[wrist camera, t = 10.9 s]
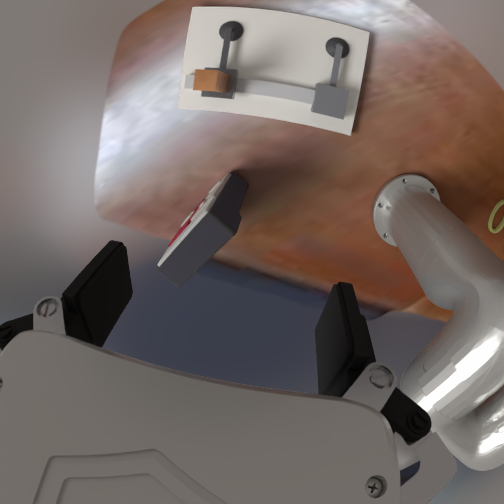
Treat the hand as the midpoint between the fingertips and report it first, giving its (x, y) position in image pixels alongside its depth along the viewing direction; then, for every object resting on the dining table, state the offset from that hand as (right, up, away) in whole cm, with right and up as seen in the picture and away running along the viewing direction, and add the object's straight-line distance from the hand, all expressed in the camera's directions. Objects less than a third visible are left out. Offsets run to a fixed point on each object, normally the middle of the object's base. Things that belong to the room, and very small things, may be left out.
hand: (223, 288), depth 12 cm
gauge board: (+4, +27, +19) cm, 33 cm away
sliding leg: (-2, +26, +17) cm, 31 cm away
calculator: (-4, +10, +31) cm, 32 cm away
